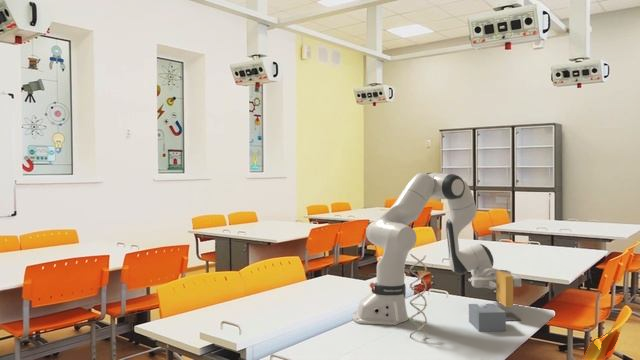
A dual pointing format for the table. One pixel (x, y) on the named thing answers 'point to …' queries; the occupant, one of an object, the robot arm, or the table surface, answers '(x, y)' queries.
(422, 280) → the dna model
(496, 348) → the table surface
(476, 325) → the box
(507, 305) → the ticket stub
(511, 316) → the mat
